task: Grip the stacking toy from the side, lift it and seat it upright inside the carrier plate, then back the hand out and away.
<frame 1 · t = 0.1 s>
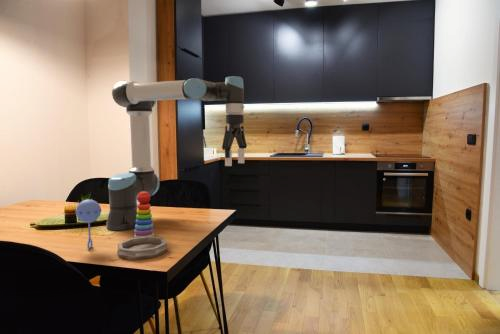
hand: (235, 164, 158), 28 cm above the table, tool pointing down, fingers open, 13 cm apart
baby rattle: (90, 248, 136), on the table
stacking toy: (144, 238, 148), on the table
carrier plate: (142, 251, 131), on the table
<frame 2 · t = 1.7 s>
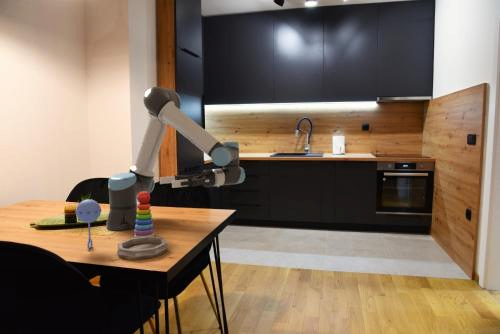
hand: (165, 182, 151), 22 cm above the table, tool horizontal, fingers open, 13 cm apart
nothing on the table moved.
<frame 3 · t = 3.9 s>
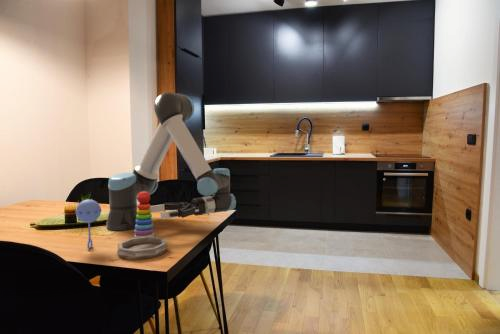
hand: (154, 212, 148), 10 cm above the table, tool horizontal, fingers open, 13 cm apart
nothing on the table moved.
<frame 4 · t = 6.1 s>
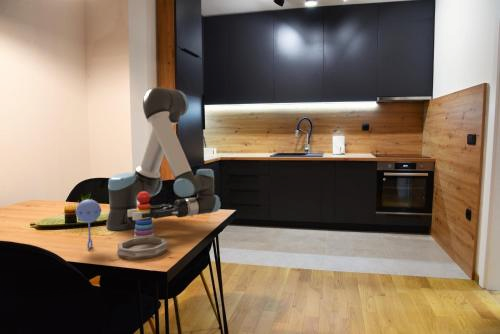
hand: (130, 215, 144), 10 cm above the table, tool horizontal, fingers closed on stacking toy, 6 cm apart
stacking toy: (144, 238, 148), on the table, touching gripper
everything else where it was.
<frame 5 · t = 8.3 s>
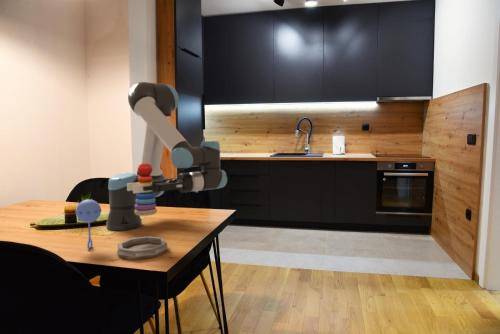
hand: (130, 188, 131), 22 cm above the table, tool horizontal, fingers closed on stacking toy, 6 cm apart
stacking toy: (145, 214, 135), point 12 cm above the table, touching gripper
everything else where it was.
when the fingers open (12 cm above the table, at t = 10.8 s): stacking toy drops 1 cm, resting on carrier plate.
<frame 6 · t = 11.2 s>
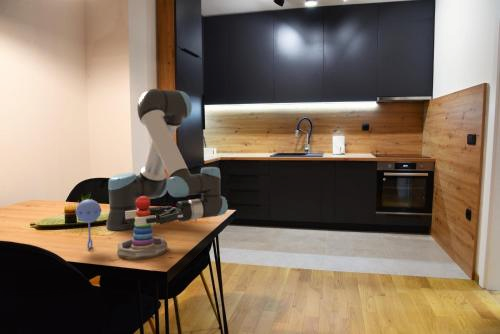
hand: (130, 218, 128), 12 cm above the table, tool horizontal, fingers open, 11 cm apart
stacking toy: (143, 249, 131), point 1 cm above the table, touching carrier plate
everything else where it was.
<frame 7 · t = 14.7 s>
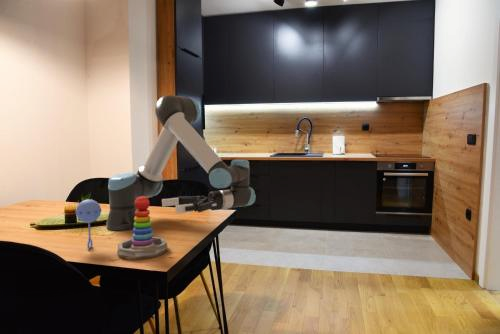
hand: (168, 206, 136), 15 cm above the table, tool horizontal, fingers open, 13 cm apart
nothing on the table moved.
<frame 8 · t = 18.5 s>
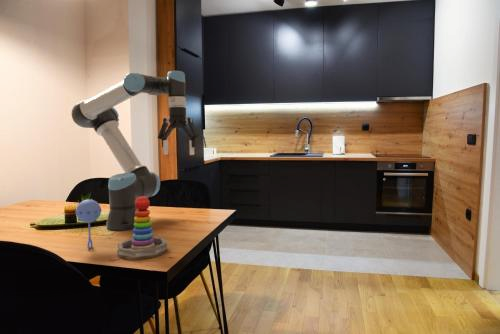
hand: (178, 154, 166), 32 cm above the table, tool pointing down, fingers open, 13 cm apart
at the end: stacking toy 0.1 cm off-centre on the carrier plate, point 0.8 cm above the carrier plate's base; stacking toy tilted 0°; the gripper is holding nothing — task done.
